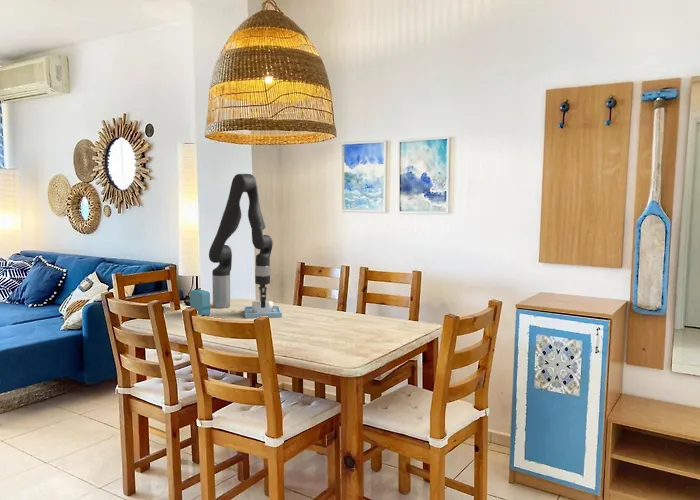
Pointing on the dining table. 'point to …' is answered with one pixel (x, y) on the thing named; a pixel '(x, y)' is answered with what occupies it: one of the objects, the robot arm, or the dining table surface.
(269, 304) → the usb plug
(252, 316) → the blue tray
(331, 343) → the dining table surface
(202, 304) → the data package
